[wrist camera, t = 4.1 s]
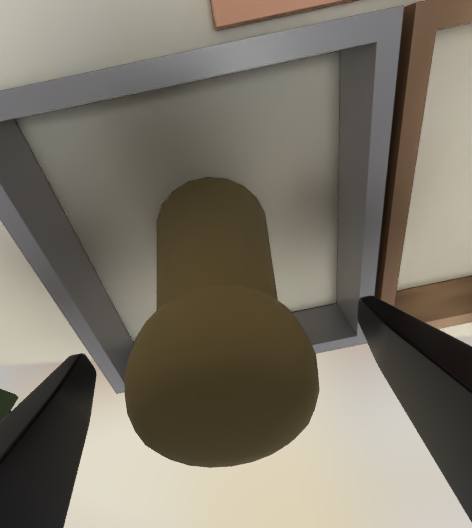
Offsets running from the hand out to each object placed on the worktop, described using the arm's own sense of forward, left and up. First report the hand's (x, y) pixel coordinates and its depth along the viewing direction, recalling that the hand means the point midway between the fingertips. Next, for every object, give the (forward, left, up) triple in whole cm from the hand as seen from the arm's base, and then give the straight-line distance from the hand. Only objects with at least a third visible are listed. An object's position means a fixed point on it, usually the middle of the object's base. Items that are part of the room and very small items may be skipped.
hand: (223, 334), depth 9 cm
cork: (0, 0, -8) cm, 8 cm away
